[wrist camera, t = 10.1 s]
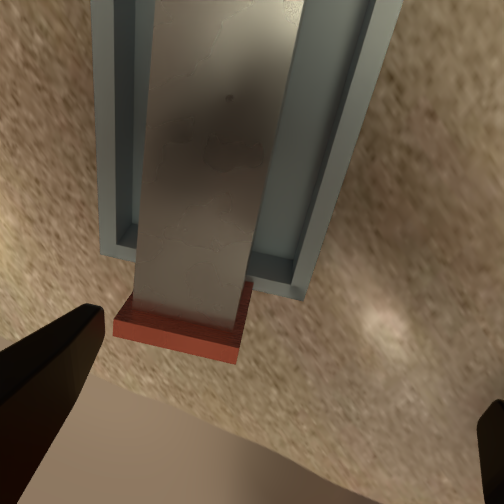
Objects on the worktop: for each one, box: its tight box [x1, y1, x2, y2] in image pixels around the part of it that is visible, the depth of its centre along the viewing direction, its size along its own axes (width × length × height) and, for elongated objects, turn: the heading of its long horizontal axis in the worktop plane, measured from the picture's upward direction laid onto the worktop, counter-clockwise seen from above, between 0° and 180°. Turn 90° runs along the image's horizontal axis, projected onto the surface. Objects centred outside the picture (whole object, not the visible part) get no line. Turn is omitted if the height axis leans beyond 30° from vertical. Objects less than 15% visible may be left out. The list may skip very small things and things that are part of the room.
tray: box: [90, 0, 404, 301], centre depth 16 cm, size 20×10×3 cm, turn 170°
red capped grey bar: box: [113, 0, 307, 365], centre depth 15 cm, size 16×5×5 cm, turn 170°
